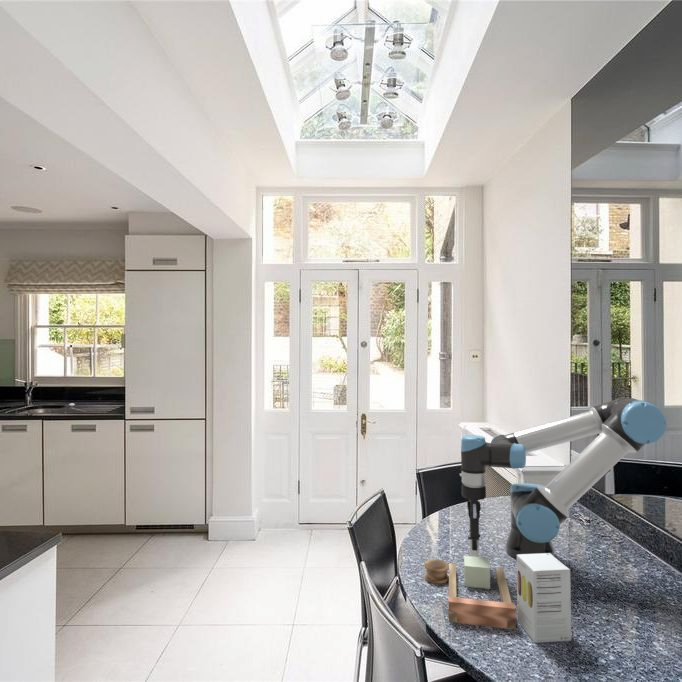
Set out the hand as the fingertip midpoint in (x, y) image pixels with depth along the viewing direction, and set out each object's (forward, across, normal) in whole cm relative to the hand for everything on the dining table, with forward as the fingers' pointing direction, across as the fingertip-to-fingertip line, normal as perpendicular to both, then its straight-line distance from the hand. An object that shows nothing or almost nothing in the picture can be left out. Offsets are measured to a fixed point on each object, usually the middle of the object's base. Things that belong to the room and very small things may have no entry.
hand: (474, 558), depth 150 cm
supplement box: (+2, +33, +15) cm, 36 cm away
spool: (+2, +11, -12) cm, 16 cm away
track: (+2, +20, 0) cm, 20 cm away
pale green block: (+2, +11, 0) cm, 11 cm away
